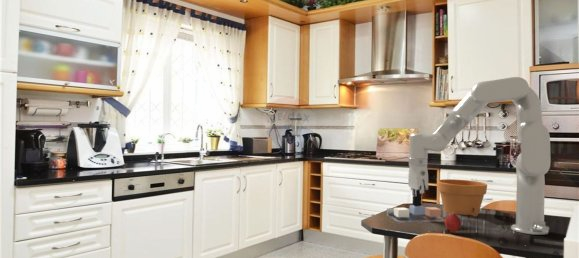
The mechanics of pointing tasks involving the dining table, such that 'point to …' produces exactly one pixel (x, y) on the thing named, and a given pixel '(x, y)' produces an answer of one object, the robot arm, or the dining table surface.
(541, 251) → the dining table surface
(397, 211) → the ivory key
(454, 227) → the onion
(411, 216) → the clear tray
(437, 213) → the pink square block
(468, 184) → the flower pot
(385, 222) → the dining table surface
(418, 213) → the slate key
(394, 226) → the dining table surface
